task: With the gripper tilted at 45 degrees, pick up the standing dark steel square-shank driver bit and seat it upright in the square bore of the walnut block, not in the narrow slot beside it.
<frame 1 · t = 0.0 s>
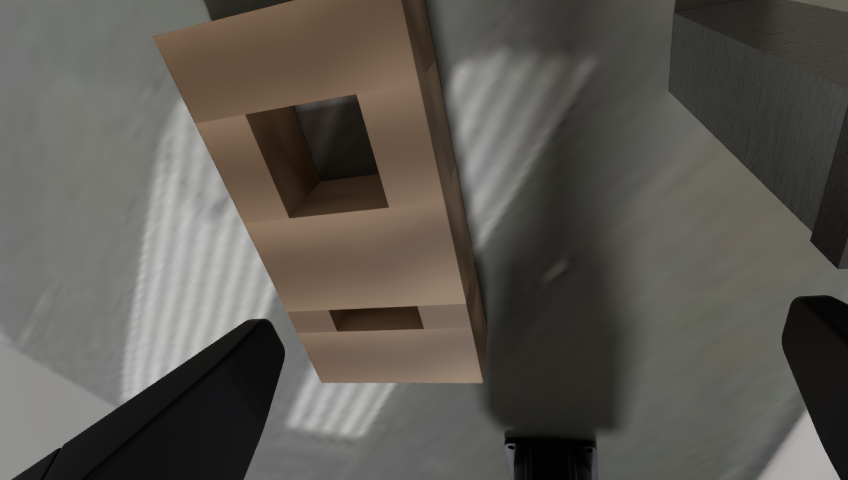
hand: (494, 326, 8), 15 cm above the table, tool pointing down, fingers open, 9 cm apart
driver bit: (713, 46, 18), on the table
bit block: (370, 200, 24), on the table
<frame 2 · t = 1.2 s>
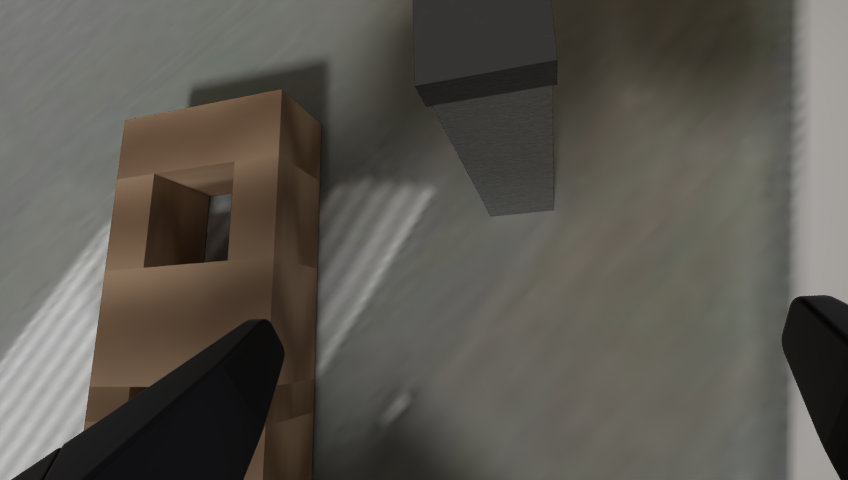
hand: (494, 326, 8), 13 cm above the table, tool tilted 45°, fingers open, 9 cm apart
driver bit: (519, 184, 22), on the table
bit block: (237, 301, 25), on the table
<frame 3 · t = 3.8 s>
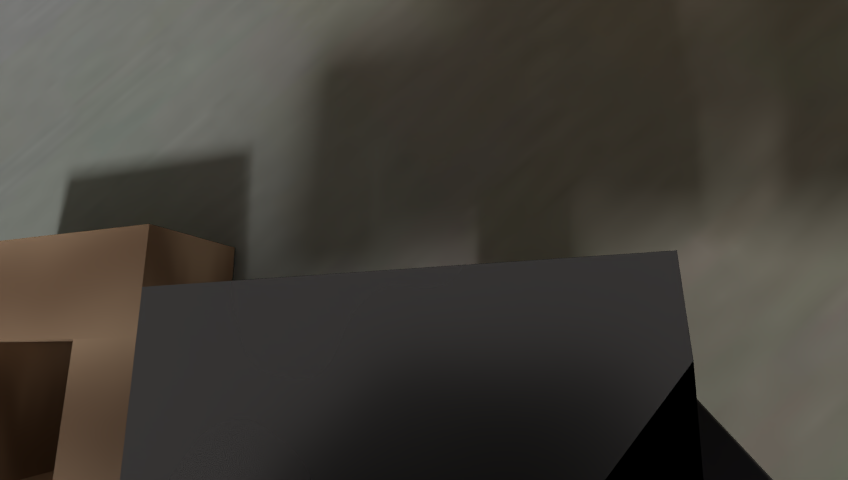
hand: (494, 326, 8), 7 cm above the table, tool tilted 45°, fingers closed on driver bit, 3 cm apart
driver bit: (524, 377, 14), on the table, touching gripper
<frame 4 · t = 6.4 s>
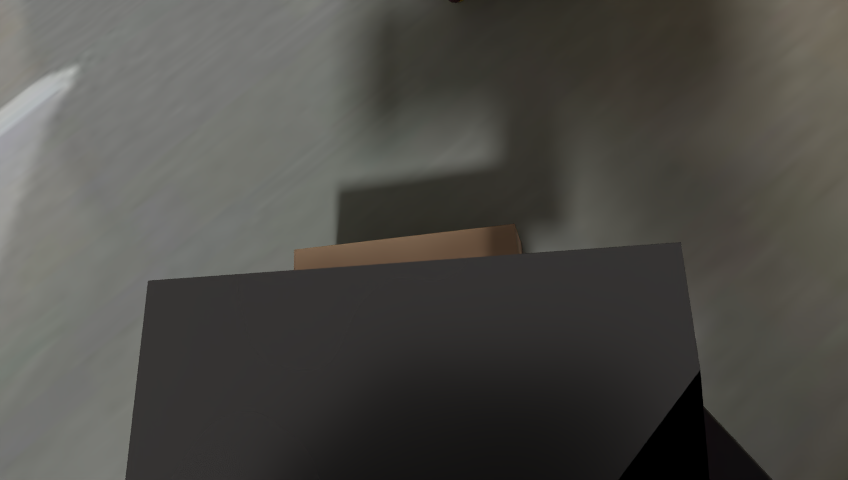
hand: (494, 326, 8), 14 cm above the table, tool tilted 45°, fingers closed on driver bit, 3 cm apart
driver bit: (524, 376, 14), point 7 cm above the table, touching gripper
bit block: (433, 464, 21), on the table
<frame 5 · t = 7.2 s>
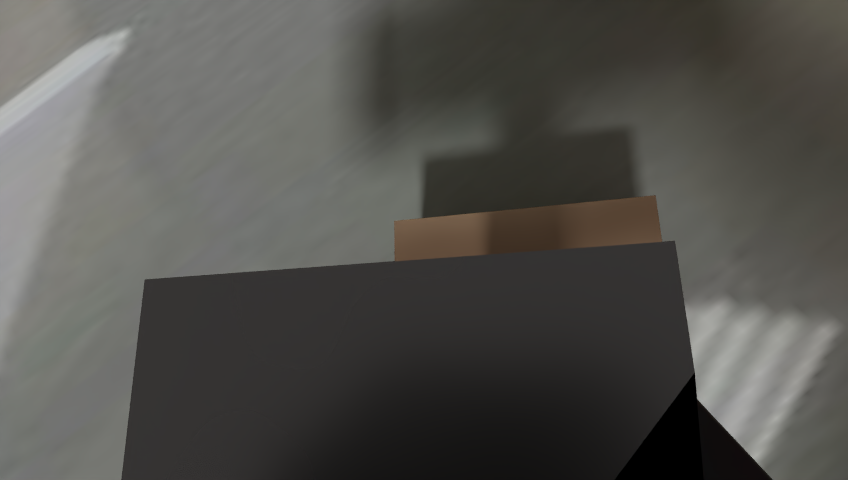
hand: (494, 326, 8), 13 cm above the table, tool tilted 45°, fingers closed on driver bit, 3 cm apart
driver bit: (523, 376, 14), point 6 cm above the table, touching gripper
bit block: (538, 458, 19), on the table
when the fingers open (7 cm above the table, at t = 8.6 s): driver bit stays where it is, resting in bit block.
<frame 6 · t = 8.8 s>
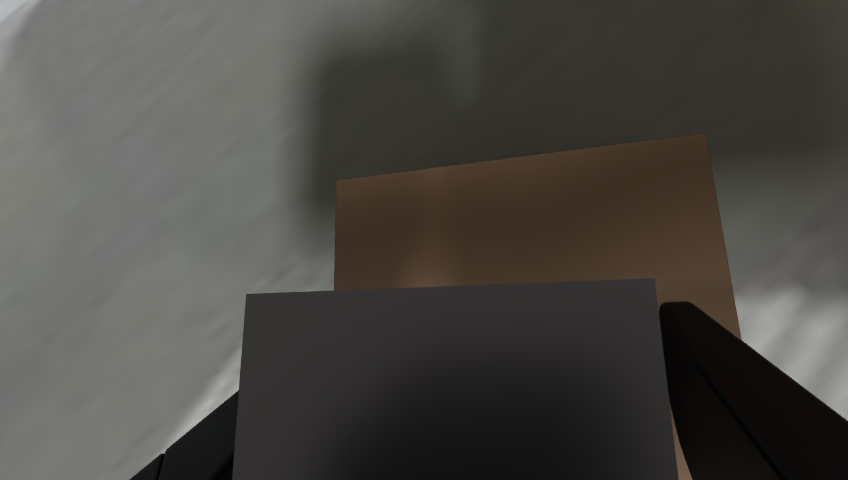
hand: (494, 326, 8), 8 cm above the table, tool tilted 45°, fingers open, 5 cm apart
driver bit: (526, 373, 15), resting in bit block
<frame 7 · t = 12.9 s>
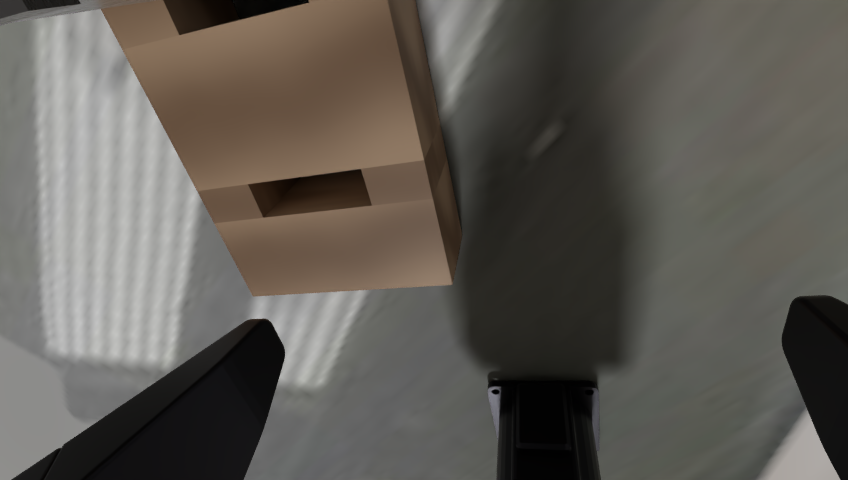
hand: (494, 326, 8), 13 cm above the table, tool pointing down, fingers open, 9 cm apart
bit block: (305, 45, 19), on the table
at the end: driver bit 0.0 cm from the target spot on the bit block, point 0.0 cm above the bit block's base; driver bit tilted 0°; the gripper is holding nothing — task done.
